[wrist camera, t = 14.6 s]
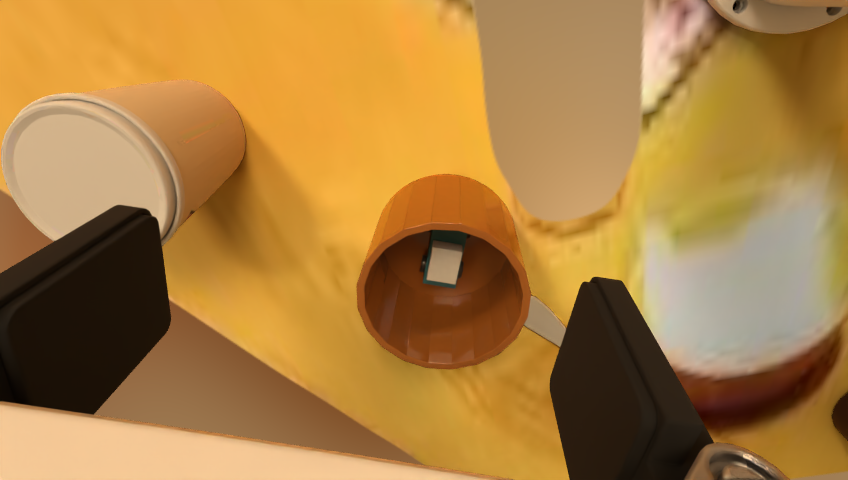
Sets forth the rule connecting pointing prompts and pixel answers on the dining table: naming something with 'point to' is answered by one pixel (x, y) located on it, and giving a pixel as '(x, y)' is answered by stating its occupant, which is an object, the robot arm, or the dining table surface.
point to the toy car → (444, 258)
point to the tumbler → (435, 305)
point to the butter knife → (544, 322)
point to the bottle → (841, 416)
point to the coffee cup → (121, 153)
